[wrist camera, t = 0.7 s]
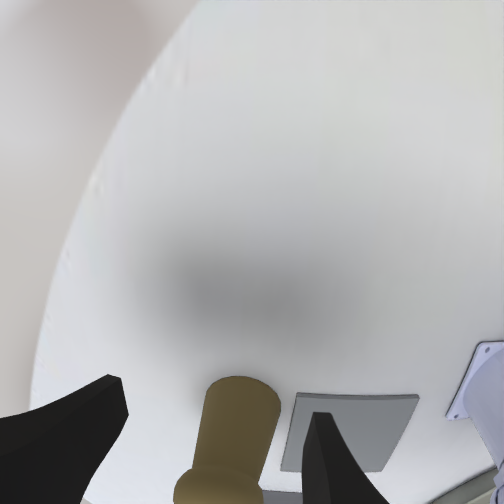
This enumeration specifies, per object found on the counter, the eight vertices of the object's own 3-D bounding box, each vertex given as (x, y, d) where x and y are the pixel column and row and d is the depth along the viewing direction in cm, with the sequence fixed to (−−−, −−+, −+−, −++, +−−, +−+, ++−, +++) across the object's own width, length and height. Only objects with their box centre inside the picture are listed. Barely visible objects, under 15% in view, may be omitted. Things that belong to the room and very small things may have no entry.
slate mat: (417, 394, 20) (419, 398, 20) (380, 467, 23) (381, 471, 22) (297, 392, 21) (297, 397, 21) (280, 467, 24) (280, 471, 23)
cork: (275, 434, 23) (260, 546, 12) (204, 423, 23) (164, 527, 13) (286, 382, 21) (276, 510, 10) (205, 369, 22) (152, 485, 11)
